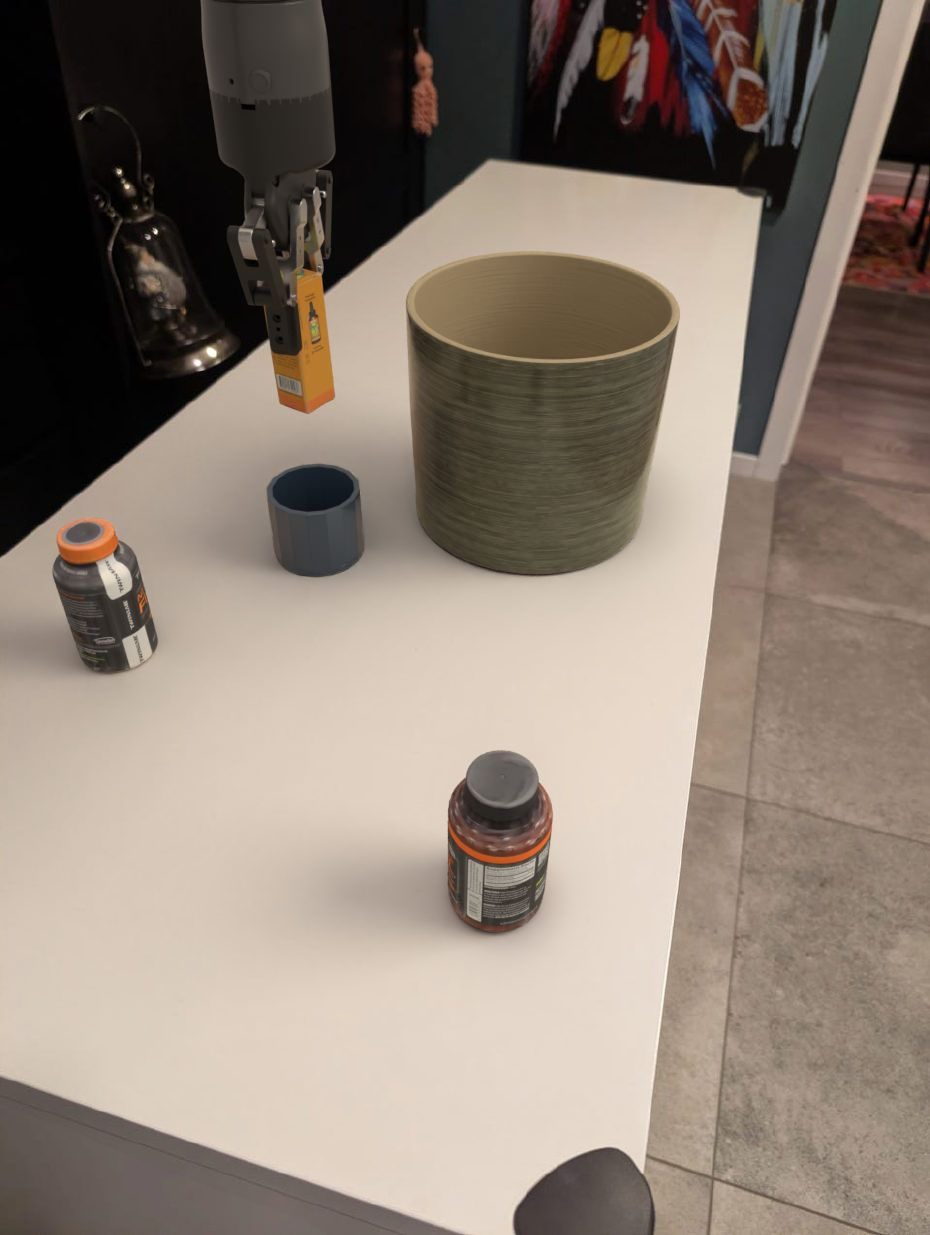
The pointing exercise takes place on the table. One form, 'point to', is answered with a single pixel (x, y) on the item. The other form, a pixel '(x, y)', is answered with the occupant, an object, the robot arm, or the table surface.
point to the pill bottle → (103, 596)
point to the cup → (316, 519)
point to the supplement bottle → (498, 842)
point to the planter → (536, 405)
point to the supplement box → (307, 352)
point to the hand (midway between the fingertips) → (297, 338)
